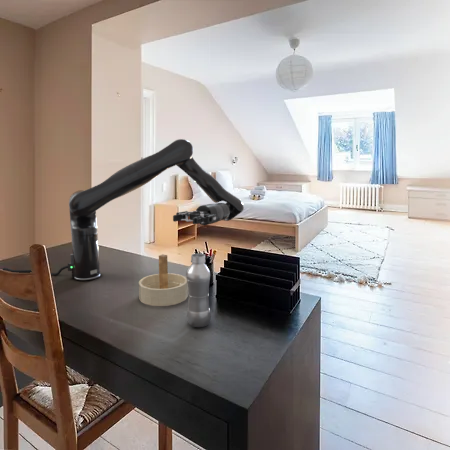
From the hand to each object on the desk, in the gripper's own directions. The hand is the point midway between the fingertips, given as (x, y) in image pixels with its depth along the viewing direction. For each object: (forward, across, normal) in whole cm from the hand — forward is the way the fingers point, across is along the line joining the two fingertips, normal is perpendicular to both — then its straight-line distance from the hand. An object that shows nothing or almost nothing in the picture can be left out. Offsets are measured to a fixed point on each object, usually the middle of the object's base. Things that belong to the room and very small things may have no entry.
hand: (183, 219), depth 121 cm
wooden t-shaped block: (+11, 0, +24) cm, 26 cm away
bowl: (+11, 0, +25) cm, 27 cm away
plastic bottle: (+20, +21, +25) cm, 38 cm away
